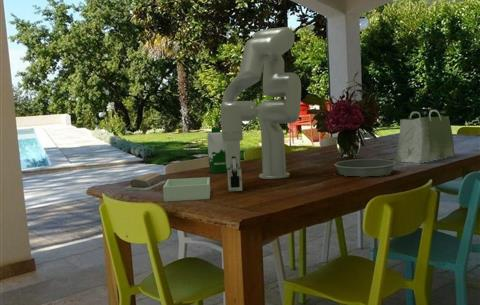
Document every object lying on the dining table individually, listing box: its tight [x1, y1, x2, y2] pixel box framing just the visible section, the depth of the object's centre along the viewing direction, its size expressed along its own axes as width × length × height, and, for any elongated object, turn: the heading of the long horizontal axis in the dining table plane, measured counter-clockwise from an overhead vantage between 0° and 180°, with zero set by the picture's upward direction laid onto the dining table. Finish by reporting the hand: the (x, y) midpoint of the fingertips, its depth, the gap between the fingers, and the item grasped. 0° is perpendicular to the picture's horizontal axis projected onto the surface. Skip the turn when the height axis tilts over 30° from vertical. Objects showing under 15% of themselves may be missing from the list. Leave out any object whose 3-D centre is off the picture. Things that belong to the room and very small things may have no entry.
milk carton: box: [206, 127, 228, 175], centre depth 240 cm, size 9×9×20 cm
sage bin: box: [162, 176, 211, 202], centre depth 189 cm, size 16×16×5 cm
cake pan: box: [333, 158, 397, 178], centre depth 218 cm, size 25×25×4 cm
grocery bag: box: [394, 109, 455, 164], centre depth 246 cm, size 32×14×23 cm, turn 132°
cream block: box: [226, 166, 243, 192], centre depth 195 cm, size 5×5×8 cm
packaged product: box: [124, 172, 167, 192], centre depth 213 cm, size 18×5×10 cm
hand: (235, 185), depth 195 cm, fingers closed on cream block, 5 cm apart
